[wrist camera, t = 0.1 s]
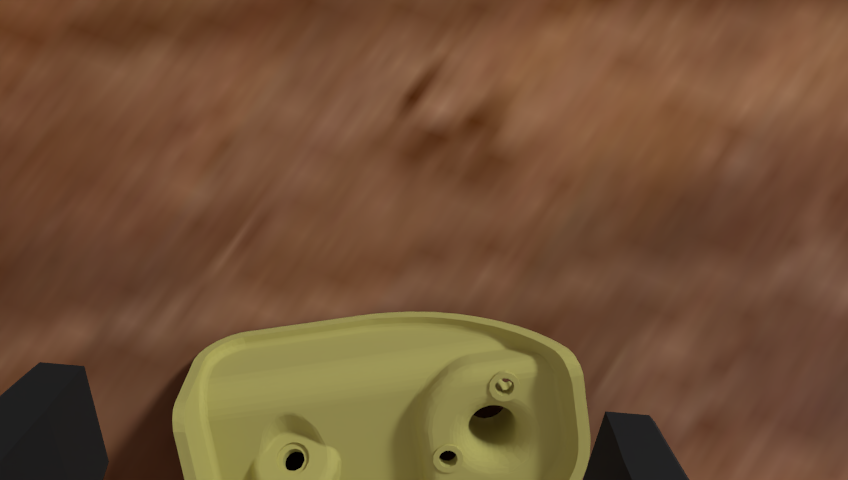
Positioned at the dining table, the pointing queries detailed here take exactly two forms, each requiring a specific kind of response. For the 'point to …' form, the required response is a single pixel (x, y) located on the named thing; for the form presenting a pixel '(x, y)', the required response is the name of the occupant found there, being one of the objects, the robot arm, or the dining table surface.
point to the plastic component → (384, 402)
